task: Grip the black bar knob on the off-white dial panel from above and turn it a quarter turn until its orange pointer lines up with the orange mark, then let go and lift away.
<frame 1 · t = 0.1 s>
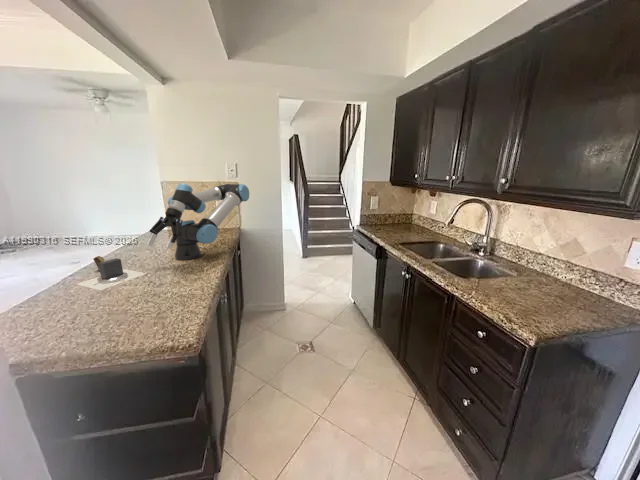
hand: (158, 247, 138), 15 cm above the counter, tool tilted 35°, fingers open, 13 cm apart
rock: (105, 272, 146), on the counter
dial panel: (113, 281, 134), on the counter
dial: (111, 269, 132), point 6 cm above the counter, hinge at 0.0°
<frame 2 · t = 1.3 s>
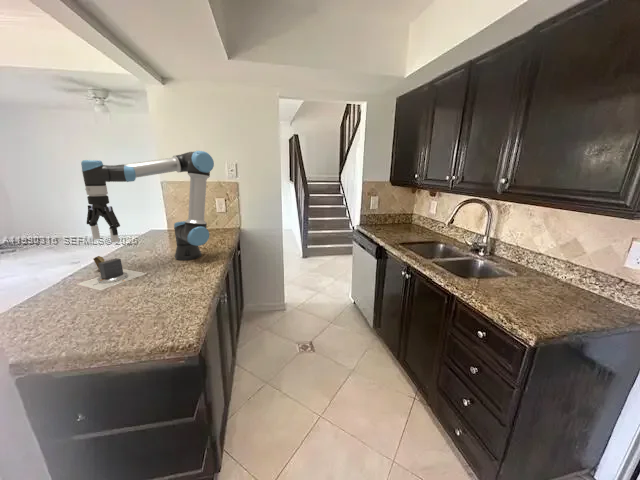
hand: (106, 240, 129), 21 cm above the counter, tool pointing down, fingers open, 13 cm apart
nothing on the counter moved.
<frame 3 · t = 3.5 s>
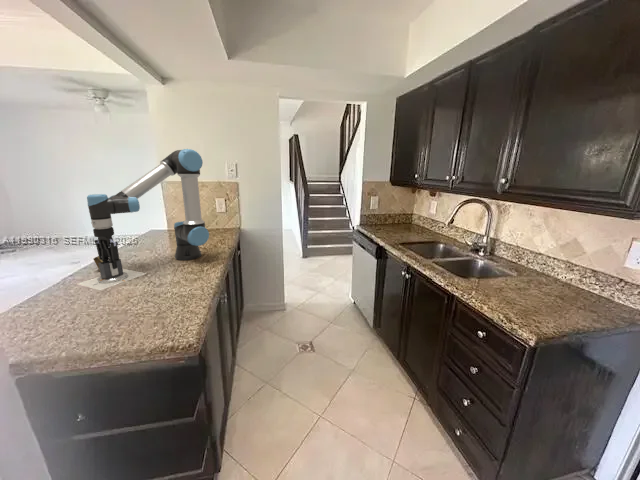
hand: (112, 274, 133), 4 cm above the counter, tool pointing down, fingers closed on dial, 4 cm apart
dial: (111, 269, 132), point 6 cm above the counter, hinge at 0.0°, touching gripper
everything else where it was.
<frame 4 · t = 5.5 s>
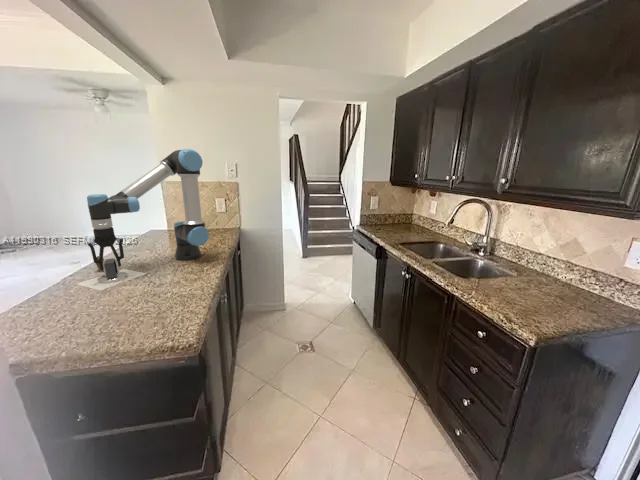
hand: (112, 274, 133), 4 cm above the counter, tool pointing down, fingers closed on dial, 4 cm apart
dial: (111, 269, 132), point 6 cm above the counter, hinge at 54.2°, touching gripper
everything else where it was.
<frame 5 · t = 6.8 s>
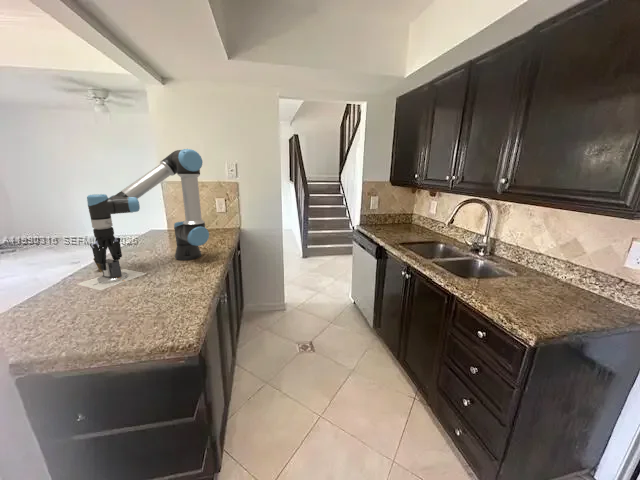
hand: (112, 274, 133), 4 cm above the counter, tool pointing down, fingers closed on dial, 4 cm apart
dial: (111, 269, 132), point 6 cm above the counter, hinge at 89.9°, touching gripper
everything else where it was.
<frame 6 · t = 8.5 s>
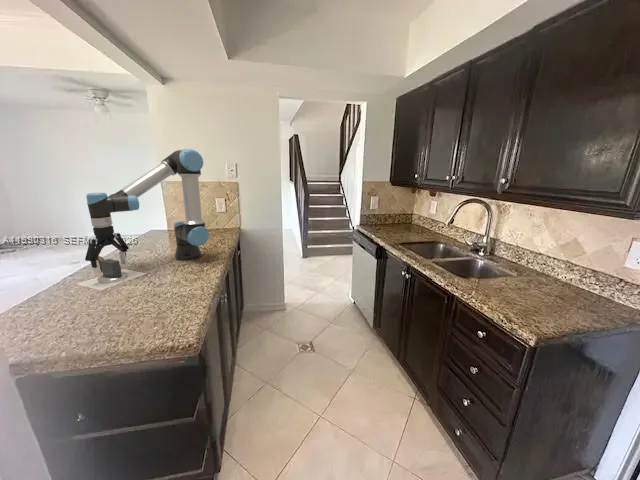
hand: (111, 268, 132), 7 cm above the counter, tool pointing down, fingers open, 13 cm apart
dial: (111, 269, 132), point 6 cm above the counter, hinge at 90.9°
everything else where it was.
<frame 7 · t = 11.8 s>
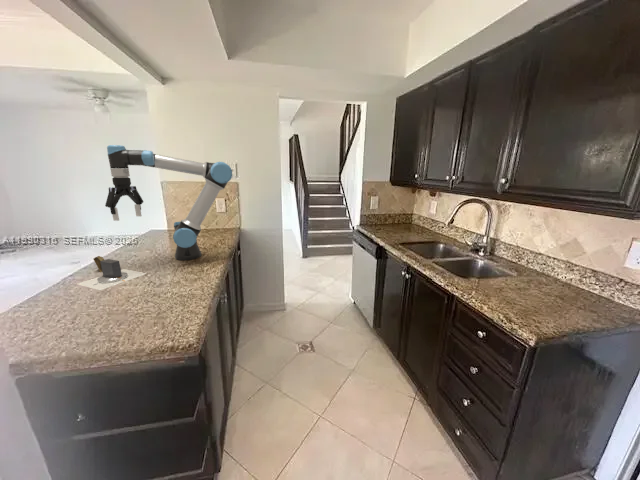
hand: (128, 218, 143), 29 cm above the counter, tool pointing down, fingers open, 13 cm apart
nothing on the counter moved.
at the end: dial at +91° (first picture: +0°); rock moved 0.3 cm from its start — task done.
